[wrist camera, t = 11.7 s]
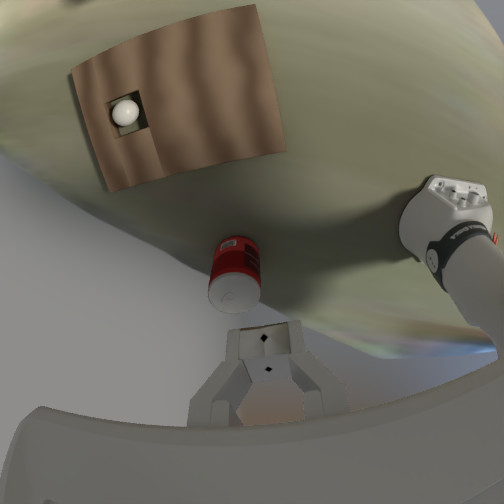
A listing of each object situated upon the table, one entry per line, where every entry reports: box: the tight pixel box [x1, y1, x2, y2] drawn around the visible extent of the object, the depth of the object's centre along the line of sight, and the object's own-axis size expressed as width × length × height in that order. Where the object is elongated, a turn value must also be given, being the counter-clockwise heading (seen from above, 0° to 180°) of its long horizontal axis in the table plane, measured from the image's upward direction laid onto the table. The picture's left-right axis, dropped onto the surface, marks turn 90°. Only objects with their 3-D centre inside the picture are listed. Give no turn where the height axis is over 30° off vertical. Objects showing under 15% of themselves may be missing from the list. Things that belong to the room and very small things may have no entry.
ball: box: [112, 100, 139, 126], centre depth 35 cm, size 4×4×4 cm
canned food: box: [208, 236, 261, 314], centre depth 46 cm, size 8×8×11 cm
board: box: [71, 4, 286, 193], centre depth 35 cm, size 28×22×2 cm
